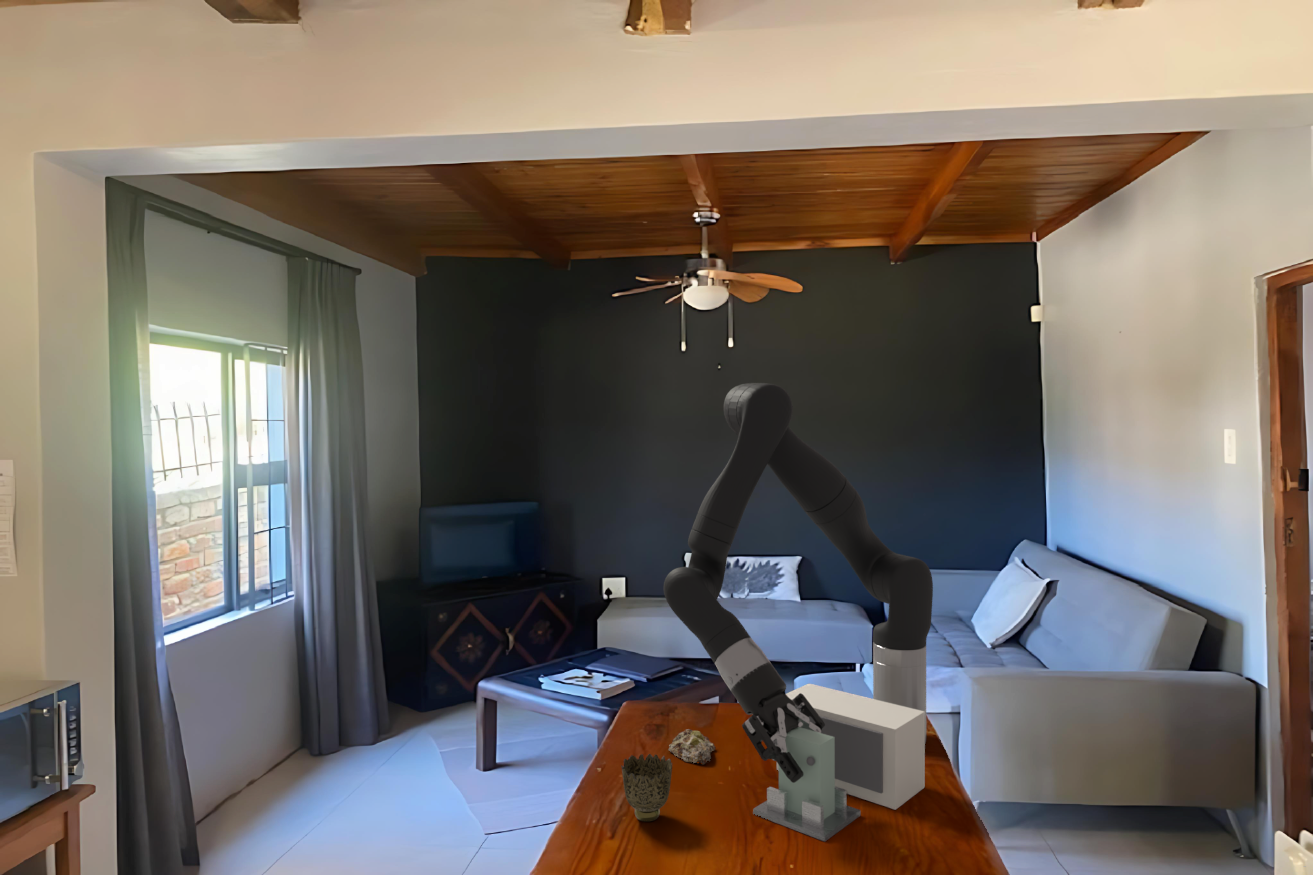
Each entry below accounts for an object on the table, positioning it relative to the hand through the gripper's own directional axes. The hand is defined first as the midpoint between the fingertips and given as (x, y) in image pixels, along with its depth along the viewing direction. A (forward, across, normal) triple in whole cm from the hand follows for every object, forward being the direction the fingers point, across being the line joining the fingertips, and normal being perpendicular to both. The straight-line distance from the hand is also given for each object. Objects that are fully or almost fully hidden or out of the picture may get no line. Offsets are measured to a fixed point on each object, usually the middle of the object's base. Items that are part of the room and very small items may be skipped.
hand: (814, 770), depth 121 cm
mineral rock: (-15, +6, +25) cm, 30 cm away
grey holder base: (+4, 0, +6) cm, 7 cm away
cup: (-8, -16, +18) cm, 25 cm away
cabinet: (+3, +15, +7) cm, 17 cm away
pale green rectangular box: (+3, 0, +5) cm, 6 cm away
